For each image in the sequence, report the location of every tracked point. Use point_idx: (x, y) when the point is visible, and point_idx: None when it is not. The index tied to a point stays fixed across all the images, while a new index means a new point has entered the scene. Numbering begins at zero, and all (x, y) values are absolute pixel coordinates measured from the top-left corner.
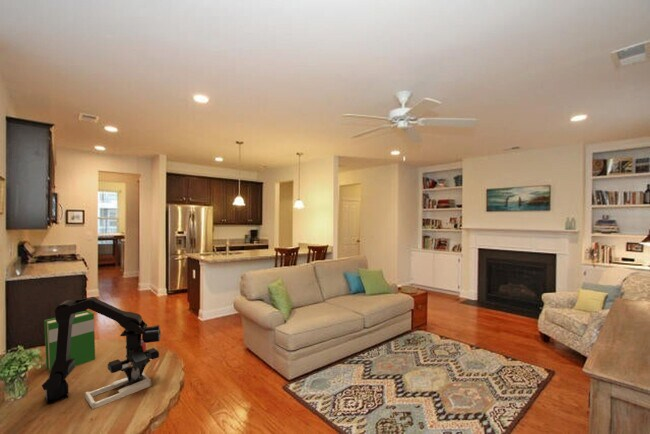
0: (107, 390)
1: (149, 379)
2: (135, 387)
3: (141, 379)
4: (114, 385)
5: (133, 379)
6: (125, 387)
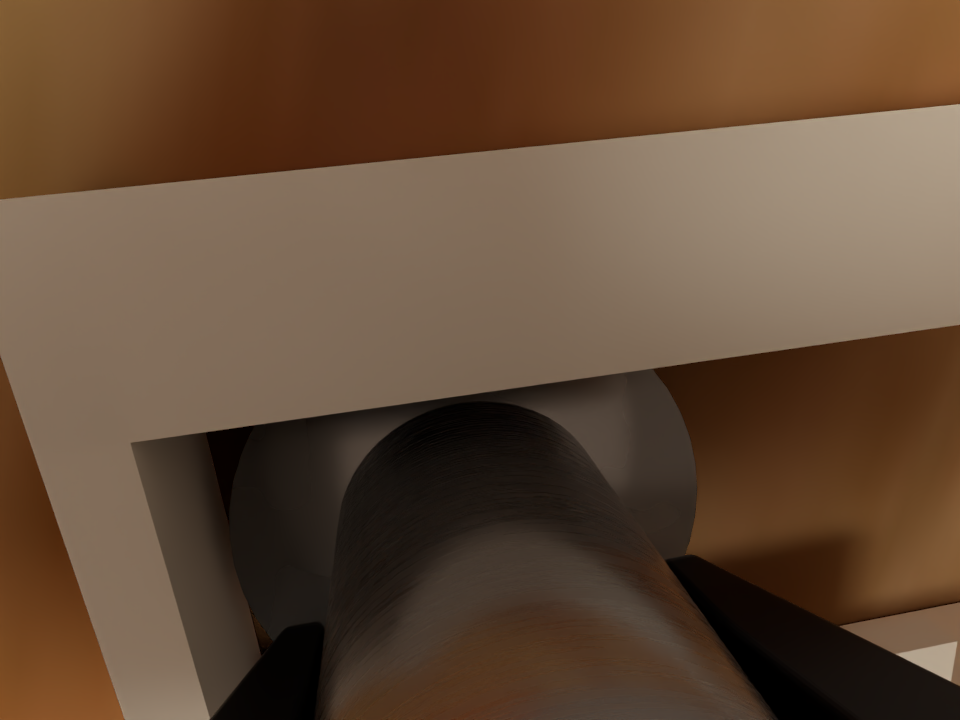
0: (945, 612)
1: (21, 332)
2: (564, 148)
3: (286, 618)
4: (937, 629)
5: (600, 509)
6: (824, 315)
